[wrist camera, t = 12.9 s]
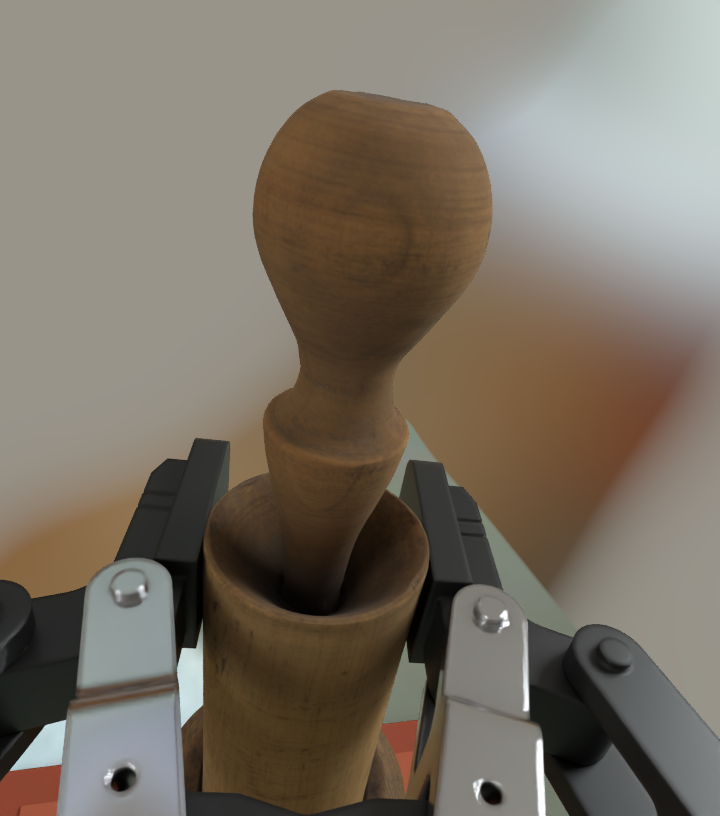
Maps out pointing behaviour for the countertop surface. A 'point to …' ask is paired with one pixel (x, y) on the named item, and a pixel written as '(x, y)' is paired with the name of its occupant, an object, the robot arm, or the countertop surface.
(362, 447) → the mortar and pestle
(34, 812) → the tray
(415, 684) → the countertop surface
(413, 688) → the countertop surface
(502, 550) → the countertop surface
